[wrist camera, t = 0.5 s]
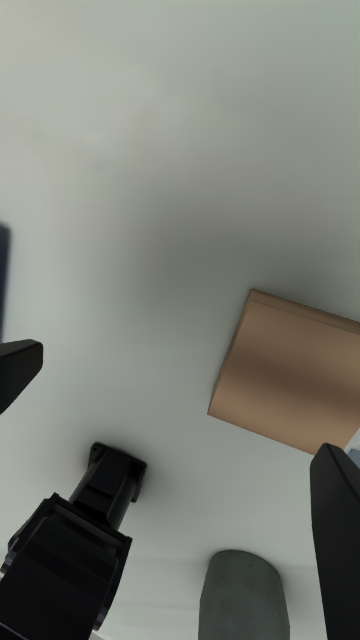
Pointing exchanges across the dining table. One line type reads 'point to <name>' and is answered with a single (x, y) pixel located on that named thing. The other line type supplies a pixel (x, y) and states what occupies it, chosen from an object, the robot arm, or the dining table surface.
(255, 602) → the grey bottle
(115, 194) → the dining table surface
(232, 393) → the base
